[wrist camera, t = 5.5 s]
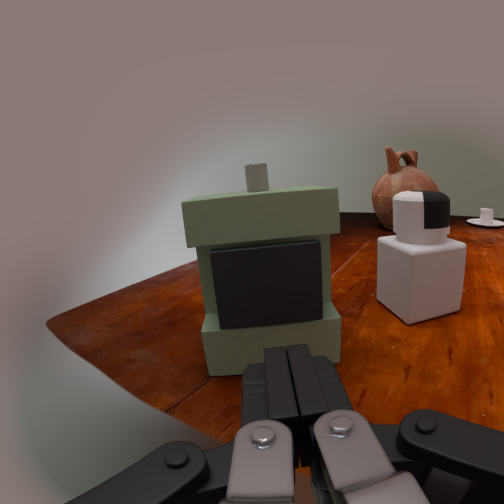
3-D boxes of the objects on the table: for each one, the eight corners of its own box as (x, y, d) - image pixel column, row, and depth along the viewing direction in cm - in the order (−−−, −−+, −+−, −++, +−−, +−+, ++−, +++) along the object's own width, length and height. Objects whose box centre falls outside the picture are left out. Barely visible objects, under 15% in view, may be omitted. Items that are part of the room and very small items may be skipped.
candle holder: (464, 220, 74) (464, 205, 73) (499, 222, 68) (499, 207, 67) (470, 227, 64) (471, 210, 63) (509, 229, 58) (510, 212, 57)
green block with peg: (209, 376, 22) (177, 170, 19) (217, 334, 29) (195, 173, 25) (340, 363, 22) (335, 156, 19) (321, 323, 29) (313, 162, 25)
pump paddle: (220, 329, 20) (209, 252, 19) (221, 323, 21) (211, 248, 20) (323, 319, 20) (320, 241, 19) (320, 313, 21) (317, 238, 20)
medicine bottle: (425, 289, 33) (427, 188, 30) (460, 311, 26) (468, 192, 23) (375, 299, 32) (374, 190, 30) (407, 326, 25) (412, 194, 23)
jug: (419, 237, 59) (415, 142, 54) (358, 229, 74) (353, 148, 70) (451, 226, 68) (448, 148, 63) (397, 219, 83) (393, 151, 78)
